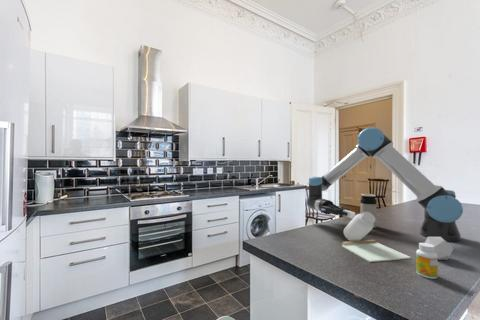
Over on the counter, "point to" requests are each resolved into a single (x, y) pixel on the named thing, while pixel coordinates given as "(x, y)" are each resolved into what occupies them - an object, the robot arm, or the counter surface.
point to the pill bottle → (359, 226)
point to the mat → (375, 252)
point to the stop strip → (358, 242)
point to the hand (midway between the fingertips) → (353, 215)
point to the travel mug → (369, 206)
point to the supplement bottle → (427, 261)
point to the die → (440, 247)
